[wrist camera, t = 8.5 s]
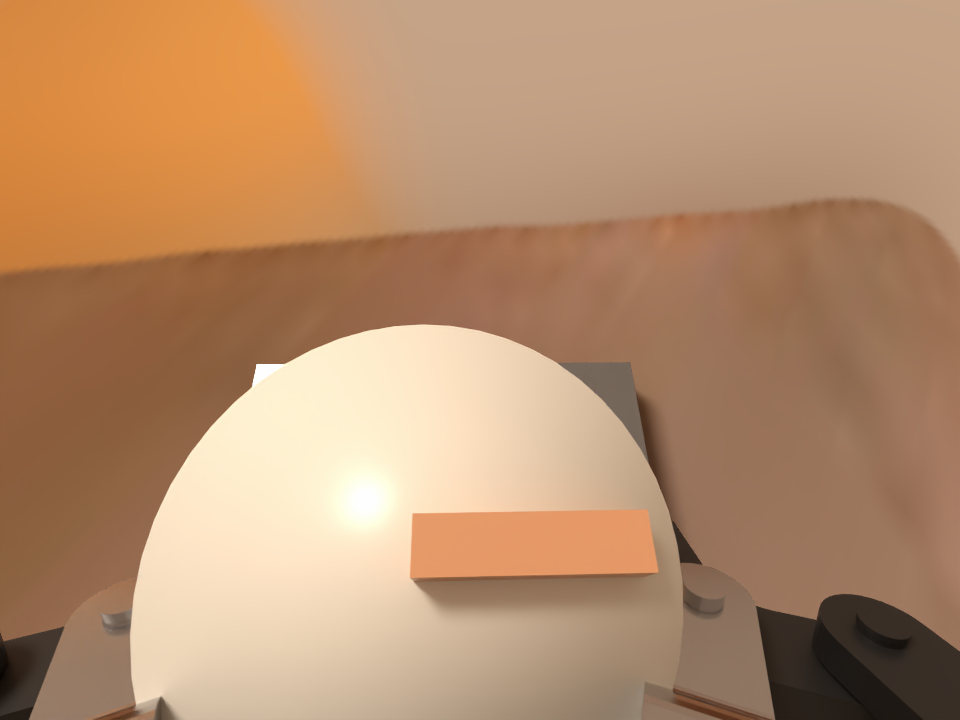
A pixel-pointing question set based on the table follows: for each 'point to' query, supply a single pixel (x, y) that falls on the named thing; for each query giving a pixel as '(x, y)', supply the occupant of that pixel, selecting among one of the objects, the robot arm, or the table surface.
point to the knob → (410, 546)
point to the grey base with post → (600, 377)
